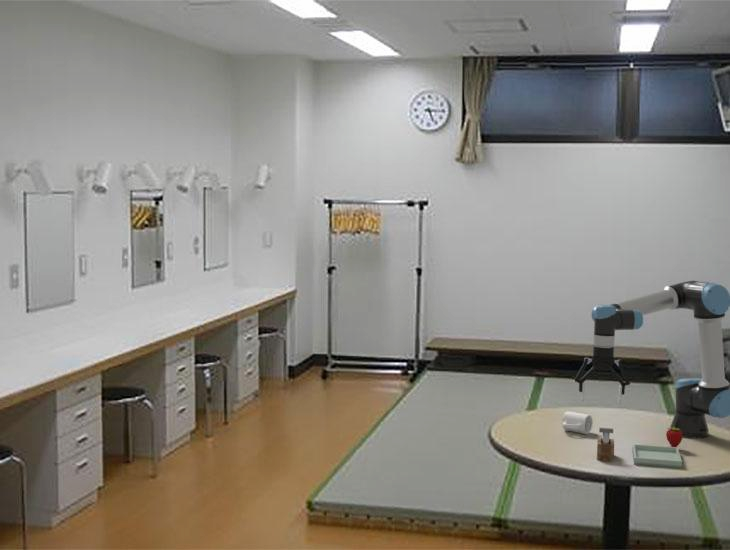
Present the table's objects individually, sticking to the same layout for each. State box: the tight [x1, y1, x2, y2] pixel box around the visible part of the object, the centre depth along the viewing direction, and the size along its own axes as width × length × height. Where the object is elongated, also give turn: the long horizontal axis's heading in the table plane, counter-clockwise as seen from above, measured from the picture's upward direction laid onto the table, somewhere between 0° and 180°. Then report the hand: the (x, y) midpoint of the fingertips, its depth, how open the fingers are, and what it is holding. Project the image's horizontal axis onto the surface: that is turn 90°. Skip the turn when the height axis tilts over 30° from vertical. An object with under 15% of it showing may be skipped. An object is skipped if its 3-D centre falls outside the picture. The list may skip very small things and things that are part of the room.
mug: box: [561, 411, 594, 435], centre depth 389 cm, size 12×10×8 cm
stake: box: [598, 427, 614, 444], centre depth 353 cm, size 5×2×11 cm, turn 76°
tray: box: [631, 443, 683, 469], centre depth 352 cm, size 17×20×2 cm
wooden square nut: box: [596, 437, 615, 463], centre depth 352 cm, size 11×6×6 cm, turn 166°
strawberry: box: [665, 424, 684, 448], centre depth 366 cm, size 6×8×10 cm
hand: (601, 401), depth 356 cm, fingers open, 13 cm apart
